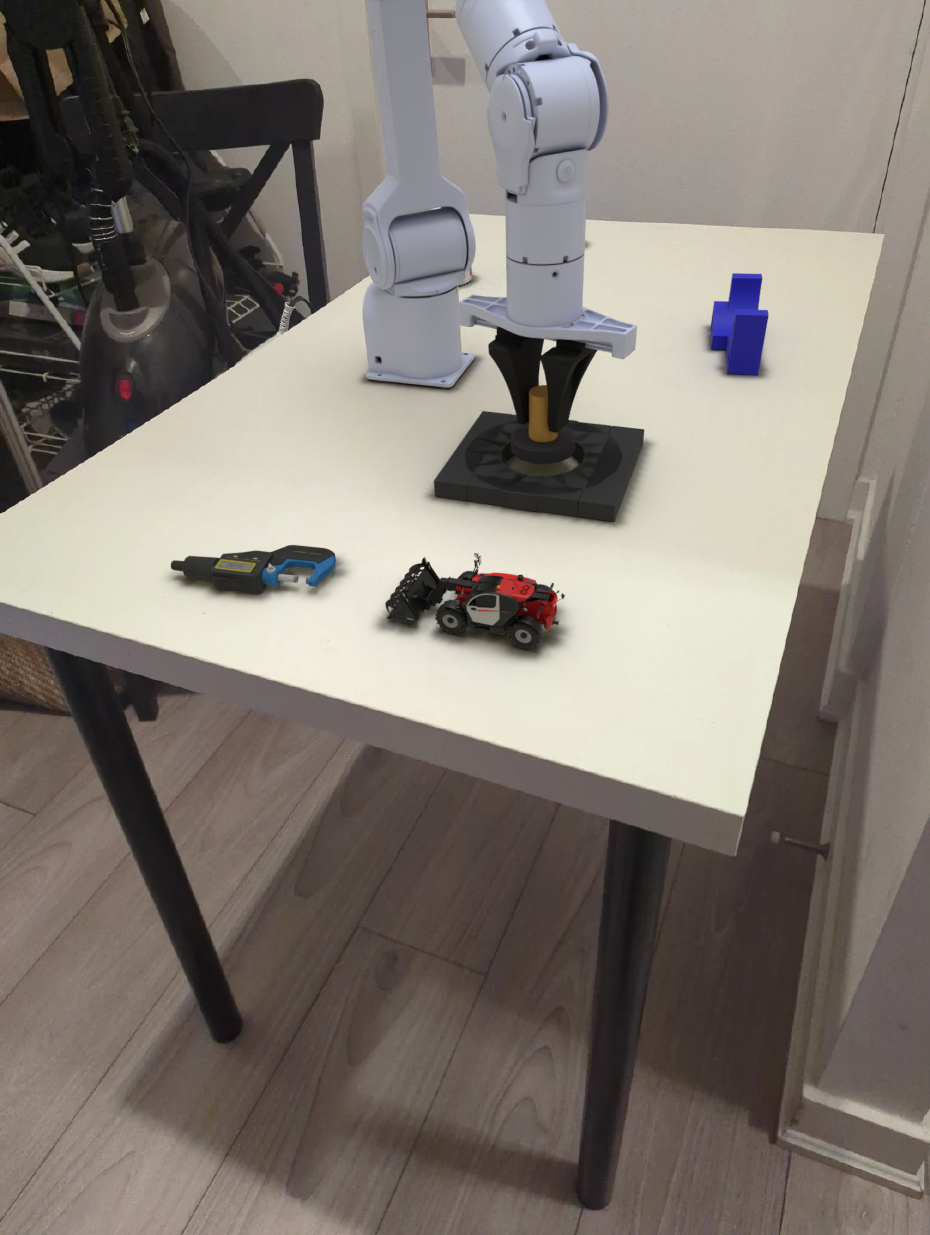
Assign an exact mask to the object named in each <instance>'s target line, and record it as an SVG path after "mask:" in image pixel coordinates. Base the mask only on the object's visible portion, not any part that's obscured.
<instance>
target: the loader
mask: <svg viewBox="0 0 930 1235" xmlns="http://www.w3.org/2000/svg"><path fill="white" fill-rule="evenodd" d="M473 556H474V557H475V558H476V559H473V563H474V567H473V570H465V571H462V573H461V574H460V575H459V576H457V578H455V577H451V576H448V577H442V576H441V577H439V575H438V574H437V572H436V571H435V570H434V568H433V567H432V565H431V562H430V561H427V558H426V556H424V557H423V558H422V559H421V562H420V563H419V562H418V563H415V564H413V565H412V566H410V567H409V568H408V572H406V573H405V574H404V577H403V578H402V579H401V580H400V582H399V584H398V586H396V587H395V589H394V592H392V593H391V594H390V597H389V599H387V600H386V602H385V609H386V611H387V613H388V615H387V617H386V620H389V621H392V620H393V621H396V622H400V623H402V624H407V625H414V624H415V623H416V622H417V621H418V620H419V617H420V614H421V613H422V612H428V611H430V610H431V607H432V606H433V607H436V605H437V604H438V605H440V604H441V603H442V602H443V603H442V604H441V605H440V606H439V607H438V608H437V610H436V613H435V618H434V621H436V625H438V628H439V629H442V631H443V632H447V633H448V634H452V635H456V634H460V633H462V632H463V631H465V629H466V628H467V626H468V629H471V630H476V631H480V632H486V633H490V634H495V635H501V636H502V635H504V634H506V631H508V632H507V634H506V635H508V639H509V640H510V641H511V644H514V645H515V647H519V649H525V650H533V649H534V648H536V647H537V646H538V645H539V644H540V642H541V641H542V636H543V634H542V632H543V628H544V629H545V632H546V633H547V632H548V631H550V629H551V628H552V627H553V626H554V625H555V626H559V624H560V620H556V617H557V613H558V605H557V604H558V602H559V601H561V600H564V599H565V597H566V594H564V593H563V592H562V593H561V595H560V599H559V596H558V594H559V593H560V590H557V591H556V592H555V590H554V589H553V588H554V586H555V583H554V582H551V584H550V586H549V585H546V584H542V583H538V582H537V580H536V579H532V578H530V577H526V576H524V574H512V573H505V572H490V573H489V572H487V573H484V572H480V573H479V568H480V566H481V564H482V555H479V553H477V552H474V553H473ZM447 592H454V594H455V595H457V597H456V598H455V599H454V600H453V599H451V598H450V599H448V600H444V599H443V597H444V594H446V593H447ZM443 600H444V601H443ZM389 608H391V609H392V610H391V611H390V609H389ZM525 609H526V610H525ZM542 625H543V627H542Z"/></svg>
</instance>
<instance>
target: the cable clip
mask: <svg viewBox="0 0 930 1235" xmlns="http://www.w3.org/2000/svg"><path fill="white" fill-rule="evenodd" d="M730 280H731V281H730V286H729V293H728V294H729V295H728V301H727V300H714V301H713V305H712V313H711V320H710V350H716V351H725V364H726V375H746V376H759V371H760V366H761V360H762V355H763V350H764V344H765V339H766V332H767V327H768V322H769V317H770V316H769V310H768V309H759V307H760V305H759V304H760V298H761V292H762V291H761V290H762V285H763V284H762V283H763V274H762V273H737V272H736V273H735V272H734V273H731V279H730Z"/></svg>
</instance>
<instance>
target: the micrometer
mask: <svg viewBox="0 0 930 1235" xmlns="http://www.w3.org/2000/svg"><path fill="white" fill-rule="evenodd" d="M336 562H337V559H336V553H335V551H333V550H331V549H329V548H326V547H319V546H309V545H301V544H289V545H285V546H283V547H280V548H277V549H275V550H272V551H266V550H265V551H264V550H249V551H242V552H227V553H222V554H221V555H220V557H215V556H199V555H187V556H186V557H185V558H184V559H183V560H178V559H177V560H176V559H173V560H171V562H170V569H171V570H173V571H177V572H182V574H183V576H184V577H185V578H186V579H190V580H195V581H202V582H207V583H211V584H212V583H213V586H215V589H216V590H219V591H226V592H228V591H229V592H234V593H235V592H236V593H244V594H250V595H251V594H253V595H260V594H263V592H264V591H265V589H266V588H267V586H274V587H275V586H276V587H278V586H280V585H281V583H282V582H287V583H294V584H295V583H296V584H298V582H299V576H298V575H294V574H293V575H292V574H285V572H286V571H287V570H289V569H292V568H299V569H306V570H307V569H309V570H313V571H312V573H311V575H310V576H307V577H305V584H306V585H307V586H308V587H313V588H317V587H318V585H319V584H320V583H321V581H323V580H324V579H325V578H327V577H328V576H329V575H330V574H332V573H333V572H334V570H336V564H337V563H336Z"/></svg>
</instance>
